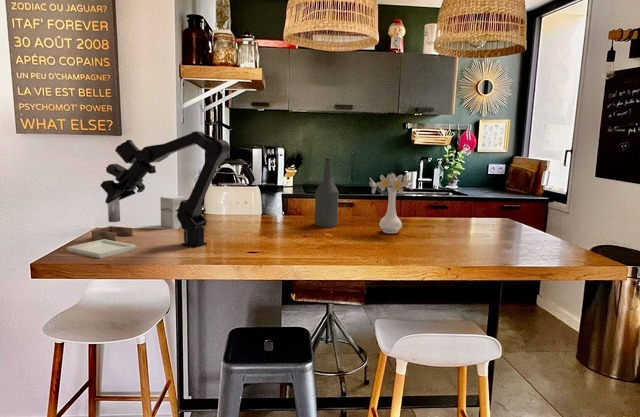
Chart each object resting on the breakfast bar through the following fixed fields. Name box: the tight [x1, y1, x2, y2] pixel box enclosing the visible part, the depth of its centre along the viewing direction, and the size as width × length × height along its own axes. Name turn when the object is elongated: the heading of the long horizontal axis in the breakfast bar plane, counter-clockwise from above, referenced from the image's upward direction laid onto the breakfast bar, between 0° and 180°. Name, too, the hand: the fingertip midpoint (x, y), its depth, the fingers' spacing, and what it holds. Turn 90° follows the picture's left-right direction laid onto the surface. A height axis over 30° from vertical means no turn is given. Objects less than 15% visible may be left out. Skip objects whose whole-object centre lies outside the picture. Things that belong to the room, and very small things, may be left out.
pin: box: [106, 193, 121, 223], centre depth 172 cm, size 4×4×14 cm
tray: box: [66, 239, 137, 260], centre depth 156 cm, size 16×14×2 cm
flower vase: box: [368, 172, 413, 234], centre depth 196 cm, size 13×18×25 cm
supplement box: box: [160, 195, 186, 229], centre depth 197 cm, size 7×7×13 cm
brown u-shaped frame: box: [91, 225, 134, 241], centre depth 175 cm, size 10×10×3 cm
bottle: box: [314, 157, 339, 228], centre depth 207 cm, size 10×10×30 cm
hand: (110, 201), depth 172 cm, fingers closed on pin, 4 cm apart
